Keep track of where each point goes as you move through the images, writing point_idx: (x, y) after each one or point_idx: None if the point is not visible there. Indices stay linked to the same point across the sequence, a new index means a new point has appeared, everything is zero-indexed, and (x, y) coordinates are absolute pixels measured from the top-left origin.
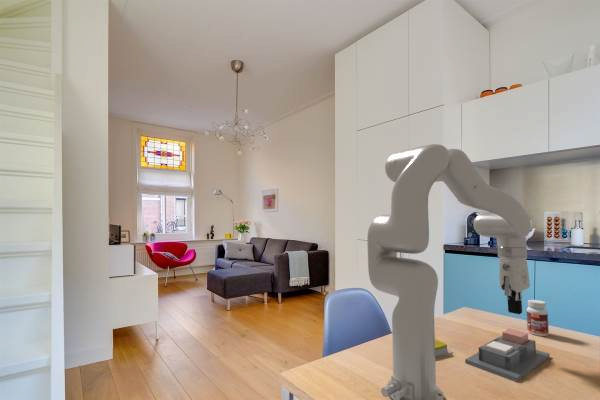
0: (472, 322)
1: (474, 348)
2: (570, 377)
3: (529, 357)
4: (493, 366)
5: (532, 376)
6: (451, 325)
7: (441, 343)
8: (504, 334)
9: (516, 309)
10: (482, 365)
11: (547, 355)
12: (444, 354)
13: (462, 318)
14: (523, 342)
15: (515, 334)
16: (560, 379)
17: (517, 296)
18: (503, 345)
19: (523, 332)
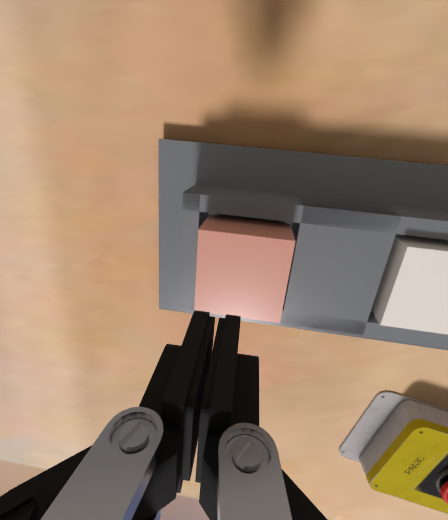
0: (44, 408)
1: (292, 353)
2: (342, 14)
3: (273, 190)
4: None
5: (439, 143)
6: None
7: (421, 440)
8: (281, 309)
9: (247, 359)
10: None
11: (185, 141)
12: (426, 403)
13: (37, 435)
14: (267, 227)
15: (269, 271)
16: (397, 44)
17: (257, 498)
18: (420, 282)
19: (200, 249)
